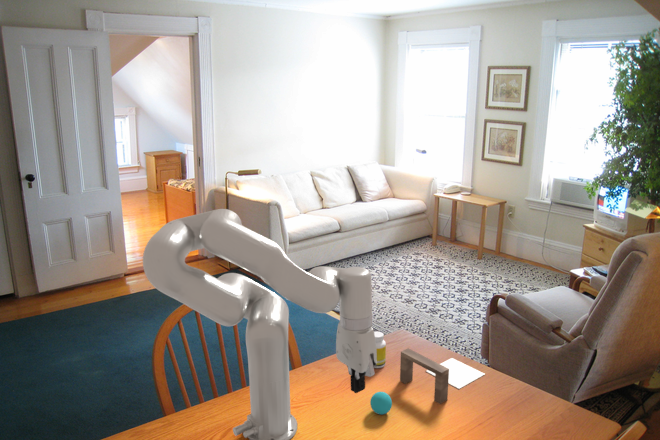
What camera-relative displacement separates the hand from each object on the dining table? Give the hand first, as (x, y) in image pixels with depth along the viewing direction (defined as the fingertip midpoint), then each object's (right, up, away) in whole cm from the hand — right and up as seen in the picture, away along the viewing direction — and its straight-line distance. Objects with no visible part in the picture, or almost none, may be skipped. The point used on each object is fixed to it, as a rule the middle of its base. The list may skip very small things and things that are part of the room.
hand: (358, 389), depth 127 cm
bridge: (+19, -6, +18) cm, 26 cm away
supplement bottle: (+7, -3, +31) cm, 32 cm away
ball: (+6, -6, +7) cm, 11 cm away
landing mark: (+30, -3, +26) cm, 40 cm away
